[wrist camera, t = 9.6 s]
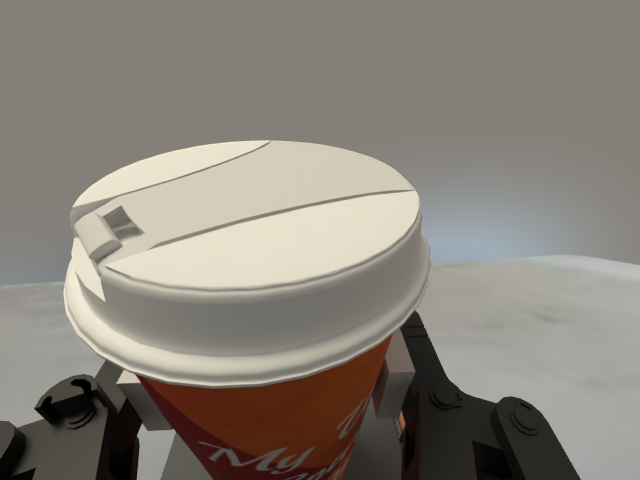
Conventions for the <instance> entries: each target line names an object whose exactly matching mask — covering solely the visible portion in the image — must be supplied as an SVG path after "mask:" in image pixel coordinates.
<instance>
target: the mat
mask: <svg viewBox="0 0 640 480" xmlns="http://www.w3.org/2000/svg"><path fill="white" fill-rule="evenodd" d="M401 471H402V451H401V447H400V443H399V439H398V435H397V431H396V427H395V423H394V419H376V415H375V410H374V405H373V400H372V395H371V398H370V401H369V404H368V407H367V410H366V413H365V415H364V418H363V421H362V424H361V427H360V430H359V432H358V435H357V438H356V441H355V444H354V446H353V449H352V452H351V455H350V457H349V460H348V463H347V465H346V468H345V471H344V473H343V476H342V478H341V480H401ZM161 480H213V479H212V478H211V476H210V475H209V474H208V472H207V471H206V469H205V468H204V467H203V465H202V464H201V463H200V461H199V460H198V459H197V457H196V456H195V455H194V454H193V452H192V451H191V450H190V449H189V447H188V446H187V445H186V444H185V442H184V441H183V440H182V439H181V437H180V436H179V435H178V434H177V432H176V434H175V437H174V441H173V444H172V447H171V450H170V453H169V456H168V459H167V462H166V465H165V468H164V471H163V474H162V477H161Z"/></svg>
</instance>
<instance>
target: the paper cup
mask: <svg viewBox="0 0 640 480" xmlns="http://www.w3.org/2000/svg"><path fill="white" fill-rule="evenodd" d="M72 209H73V210H72V212H71V214H70V222H71V226H72V230H73V233H74V237H75V238H74V243H73V248H72V253H71V254H72V259H71V261H70V263H69V266H68V271H67V276H66V281H65V287H64V292H63V293H64V301H65V308H66V314H67V316H68V318H69V319H70V321H71V323H72V325H73V327H74V329H75V331H76V333H77V334H78V336H79V337H80V338H81V339H82V340H83V341H84V342H85V343H86V344H87V345H88V346H89V347H90V348H91V349H92V350H93V351H95V352H96V353H97V354H98V355H99V356H100V357H102V358H104V359H105V360H107V361H109V362H111V363H113V364H115V365H117V366H118V367H120V368H122V369H124V370H126V371H128V372H129V373H133V374H135V375H136V376H137V378H138V379H139V381H140V382H141V384H142V385H143V387H144V388H145V390H146V391H147V393H148V394H149V396H150V397H151V399H152V400H153V402H154V403H155V405H156V406H157V408H158V409H159V410H160V412H161V413H162V415H163V416H164V417H165V419H166V420H167V421H168V422H169V424H170V425H171V426H172V427H173V429H174V430H175V431H176V432H177V434H178V435H179V436H180V437H181V439H182V440H183V441H184V442H185V444H186V445H187V446H188V447H189V449H190V450H191V451H192V452H193V454H194V455H195V456H196V457H197V459H198V460H199V461H200V463H201V464H202V465H203V467H204V468H205V469H206V471H207V472H208V474H209V475H210V476H211V478H212V479H213V480H341V478H342V476H343V473H344V471H345V468H346V465H347V463H348V460H349V457H350V455H351V452H352V449H353V446H354V444H355V441H356V438H357V435H358V432H359V430H360V427H361V424H362V421H363V418H364V415H365V413H366V410H367V407H368V404H369V401H370V398H371V395H372V393H373V390H374V387H375V384H376V381H377V378H378V375H379V373H380V370H381V367H382V364H383V361H384V358H385V355H386V353H387V350H388V347H389V344H390V341H391V338H392V336H393V333H394V332H395V331H396V330H398V329H399V328H400V327H401V326H402V325H403V324H404V323H405V322H406V321H407V319H408V318H409V317H410V316H411V314H412V313H413V312H414V311H415V309H416V308H417V307H418V306H419V304H420V302H421V300H422V298H423V295H424V293H425V291H426V289H427V287H428V284H429V279H430V273H431V267H432V263H431V255H430V248H429V246H428V242H427V239H426V237H425V234H424V232H423V229H422V228H421V226H422V211H421V202H420V199H419V197H418V194H417V192H416V191H415V189H414V188H413V187H412V186H411V185H410V184H409V183H408V182H407V180H406V179H405V178H404V177H403V176H401V175H400V174H399V173H398V172H397V171H395V169H393V168H391V167H390V166H388V165H386V164H385V163H383V162H380V161H378V160H376V159H374V158H371V157H368V156H366V155H362V154H359V153H356V152H353V151H349V150H345V149H341V148H336V147H332V146H326V145H320V144H313V143H302V142H288V141H287V142H286V141H239V142H226V143H218V144H209V145H203V146H197V147H191V148H186V149H181V150H176V151H172V152H169V153H164V154H160V155H157V156H153V157H151V158H147V159H144V160H141V161H138V162H136V163H133V164H131V165H128V166H126V167H123V168H121V169H119V170H117V171H115V172H113V173H111V174H109V175H107V176H105V177H104V178H102V179H101V180H99V181H98V182H96V183H95V184H93V185H92V186H90V187H89V188H88V189H87V190H86V191H85V192H84V193H83V194H82V195H81V196H79V198H78V199H77V201H76V202H75V204H74V205H73V207H72Z"/></svg>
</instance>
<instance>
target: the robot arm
mask: <svg viewBox="0 0 640 480" xmlns="http://www.w3.org/2000/svg"><path fill="white" fill-rule="evenodd" d="M372 400H373V405H374V410H375V415H376V419H397V418H399V416H400V413H401V410H402V414H403V417H404V421H405V426H404V429H403V431H402V434H401V437H400V441H399V443H403V448H402V471H401V480H581V479H580V477H579V476H578V474H577V472H576V470H575V469H574V467H573V465H572V463H571V462H570V460H569V458H568V456H567V455H566V453H565V451H564V449H563V448H562V446H561V444H560V442H559V441H558V439H557V437H556V435H555V434H554V432H553V430H552V428H551V427H550V425H549V423H548V422H547V420H546V419H545V418H544V416H543V415H542V414H541V412H540V411H538V410H537V409H536V408H535V407H534V406H533V405H531V404H530V403H528V402H526V401H524V400H522V399H520V398H516V397H504V398H502V399H501V400H500V401H499V402H498V403H494V402H490V401H487V400H483V399H480V398H476V397H473V396H470V395H468V394H466V393H464V392H462V391H461V390H460V389H459V388H458V387H457V386H456V385H455V384H453V383H452V382H451V381H450V380H449V379H448V377H447V376H446V374H445V372H444V370H443V367H442V365H441V363H440V361H439V359H438V356H437V354H436V352H435V350H434V347H433V345H432V343H431V341H430V338H428V334H427V332H426V329H425V328H424V325H423V323H422V320H421V318H420V316H419V314H418V313H417V312H416V311H414V312H413V313H412V314H411V316H410V317H409V318H408V319H407V321H406V322H405V323H404V324H403V325H402V326H401V327H400V328H399V329H398V330H396V331H395V332H394V333H393V336H392V338H391V341H390V344H389V347H388V350H387V353H386V355H385V358H384V361H383V364H382V367H381V370H380V373H379V375H378V378H377V381H376V384H375V387H374V390H373V393H372ZM34 409H35V410H36V411H37V412H38V413H39V414H40V415H41V416H42V417H43V418H44V419H42V420H39V421H36V422H33V423H30V424H27V425H24V426H21V427H18V428H16V427H15V426H14V425H12V424H11V423H10V422H9V421H0V480H137V469H138V458H139V447H140V445H139V439H138V437H137V434H138V432H139V429H140V427H141V424H142V423H143V424H144V426H145V427H146V429H147V430H148V431H156V430H172V429H173V427H172V426H171V425H170V424H169V422H168V421H167V420H166V419H165V417H164V416H163V415H162V413H161V412H160V410H159V409H158V408H157V406H156V405H155V403H154V402H153V400H152V399H151V397H150V396H149V394H148V393H147V391H146V390H145V388H144V387H143V385H142V384H141V382H140V381H139V379H138V378H137V376H136V375H135V374H133V373H129V372H128V371H126V370H124V369H122V368H120V367H118V366H117V365H115V364H113V363H111V362H109V361H107V360H106V361H105V362H104V364H103V366H102V367H101V369H100V370H99V372H98V374H97V375H96V377H95V378H93V376H90V375H85V374H82V375H76V376H72V377H70V378H67V379H65V380H62V381H61V382H59V383H58V384H56V385H55V386H53V387H52V388H50V389H49V390H48V391H47V392H46V393H45V394H44V395H43V396H42V397H41V398H40V400H39V401H38V403H37V405H36V406H35V408H34Z"/></svg>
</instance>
